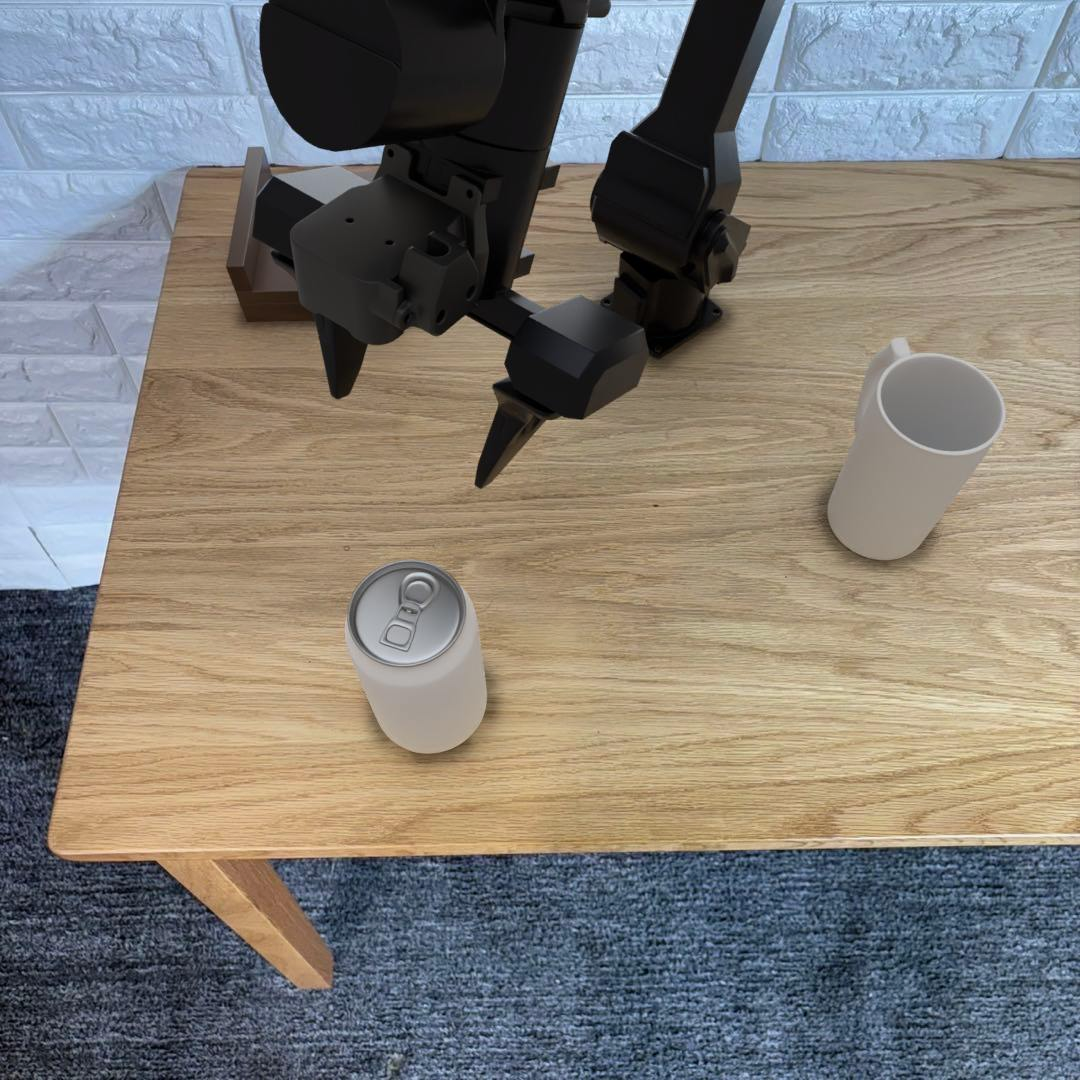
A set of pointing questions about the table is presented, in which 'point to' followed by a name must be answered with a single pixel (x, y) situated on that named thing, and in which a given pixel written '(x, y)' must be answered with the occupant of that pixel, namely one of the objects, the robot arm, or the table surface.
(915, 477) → the mug
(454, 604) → the can
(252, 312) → the coaster holder tray
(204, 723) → the table surface
